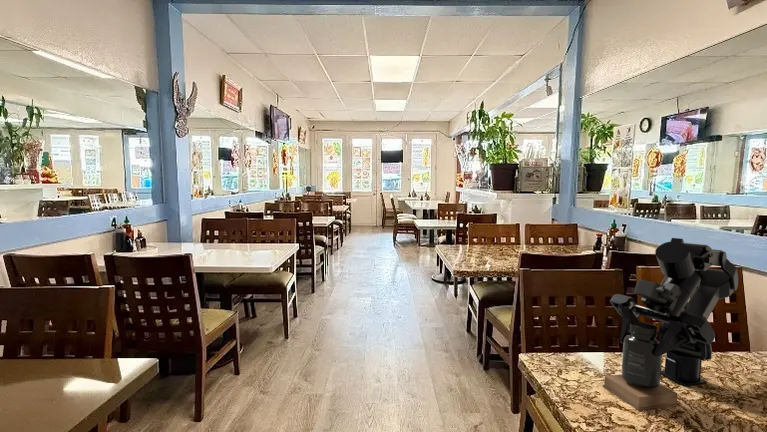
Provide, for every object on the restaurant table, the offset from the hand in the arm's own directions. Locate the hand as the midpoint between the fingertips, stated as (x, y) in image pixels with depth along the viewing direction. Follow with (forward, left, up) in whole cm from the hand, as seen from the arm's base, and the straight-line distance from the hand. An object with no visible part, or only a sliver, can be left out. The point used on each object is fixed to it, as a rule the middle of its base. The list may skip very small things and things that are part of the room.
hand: (637, 348), depth 82 cm
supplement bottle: (-1, 0, -7) cm, 8 cm away
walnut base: (-1, 0, -10) cm, 10 cm away
